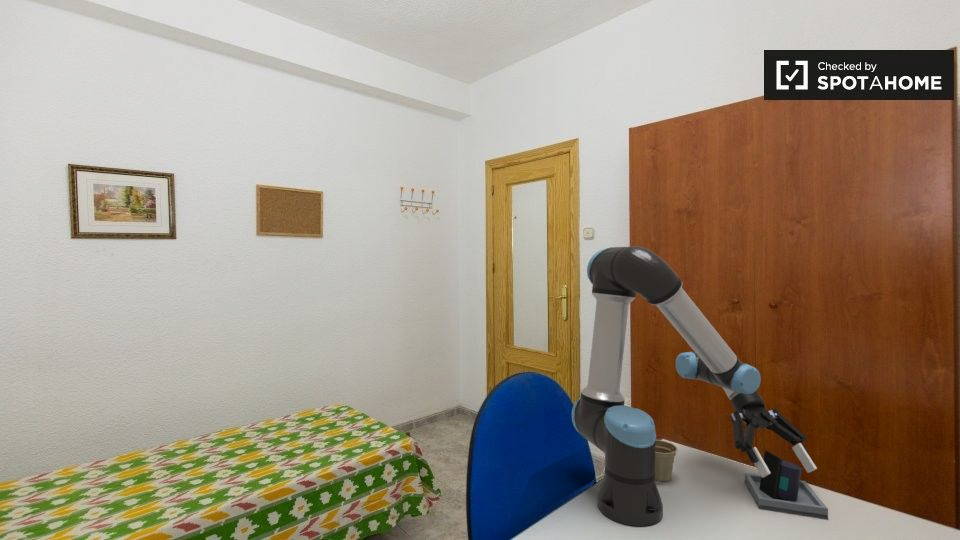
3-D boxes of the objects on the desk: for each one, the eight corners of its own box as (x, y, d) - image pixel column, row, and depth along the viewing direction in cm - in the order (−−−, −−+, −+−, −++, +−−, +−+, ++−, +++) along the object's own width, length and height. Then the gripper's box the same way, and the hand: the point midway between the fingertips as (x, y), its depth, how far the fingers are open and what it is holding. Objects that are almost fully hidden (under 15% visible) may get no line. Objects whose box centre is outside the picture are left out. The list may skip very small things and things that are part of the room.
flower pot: (681, 486, 118) (681, 454, 118) (644, 482, 120) (644, 451, 120) (673, 470, 127) (673, 440, 127) (639, 467, 129) (639, 438, 129)
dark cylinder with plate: (767, 499, 109) (771, 457, 109) (758, 489, 115) (763, 449, 115) (802, 506, 107) (806, 464, 107) (792, 496, 113) (796, 455, 113)
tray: (759, 508, 107) (759, 498, 107) (744, 482, 120) (744, 473, 120) (827, 519, 103) (828, 508, 103) (805, 490, 116) (805, 481, 116)
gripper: (772, 399, 129) (820, 474, 115) (697, 404, 125) (738, 483, 110) (788, 386, 124) (841, 463, 110) (711, 391, 119) (755, 471, 105)
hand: (789, 473), depth 110 cm, fingers open, 13 cm apart
